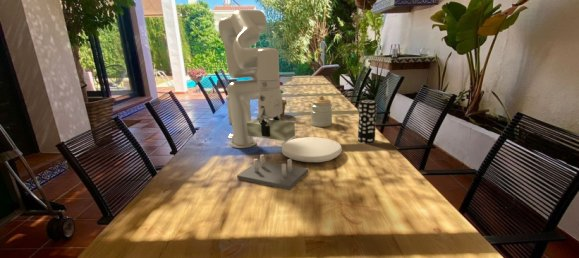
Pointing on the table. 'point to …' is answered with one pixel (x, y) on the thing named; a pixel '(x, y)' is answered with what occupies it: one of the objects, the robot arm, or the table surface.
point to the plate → (311, 149)
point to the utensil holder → (230, 108)
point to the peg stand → (273, 173)
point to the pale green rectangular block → (272, 129)
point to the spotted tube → (367, 121)
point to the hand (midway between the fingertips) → (271, 132)
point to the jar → (321, 112)
